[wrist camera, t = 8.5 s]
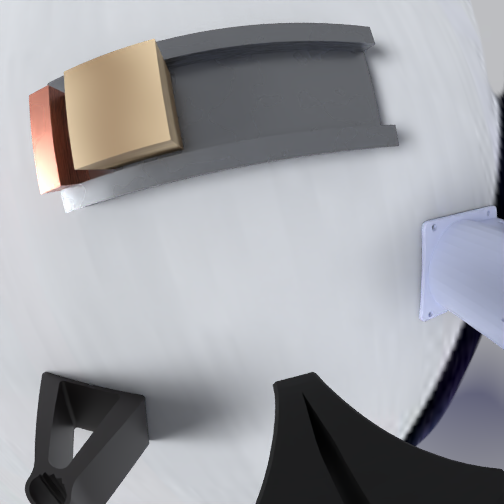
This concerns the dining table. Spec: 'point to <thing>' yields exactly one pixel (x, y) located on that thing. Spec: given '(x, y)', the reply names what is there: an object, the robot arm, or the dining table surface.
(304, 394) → the robot arm
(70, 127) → the oak block
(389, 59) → the dining table surface
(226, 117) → the chute
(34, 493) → the phone stand
